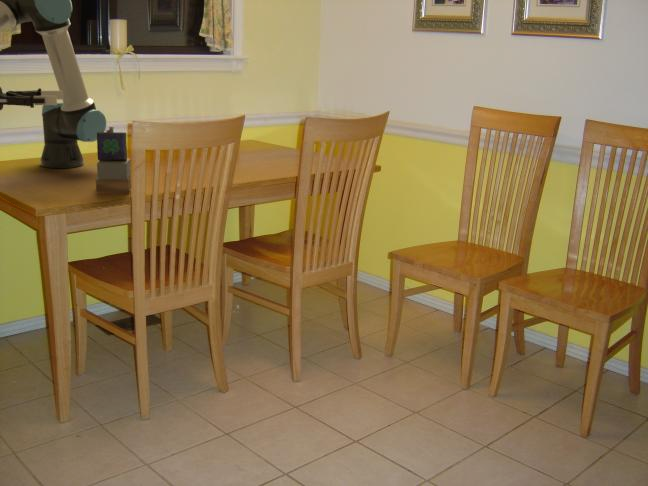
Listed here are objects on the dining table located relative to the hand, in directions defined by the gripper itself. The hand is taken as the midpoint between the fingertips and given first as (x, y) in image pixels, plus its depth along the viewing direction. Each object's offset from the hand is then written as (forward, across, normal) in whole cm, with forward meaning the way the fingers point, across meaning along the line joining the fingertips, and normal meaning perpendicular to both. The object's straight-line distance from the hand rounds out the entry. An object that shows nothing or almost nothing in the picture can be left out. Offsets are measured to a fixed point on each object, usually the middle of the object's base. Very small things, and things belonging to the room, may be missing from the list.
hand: (59, 97), depth 237 cm
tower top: (+15, +4, -25) cm, 29 cm away
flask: (+15, +3, -20) cm, 25 cm away
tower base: (+15, +4, -30) cm, 33 cm away
